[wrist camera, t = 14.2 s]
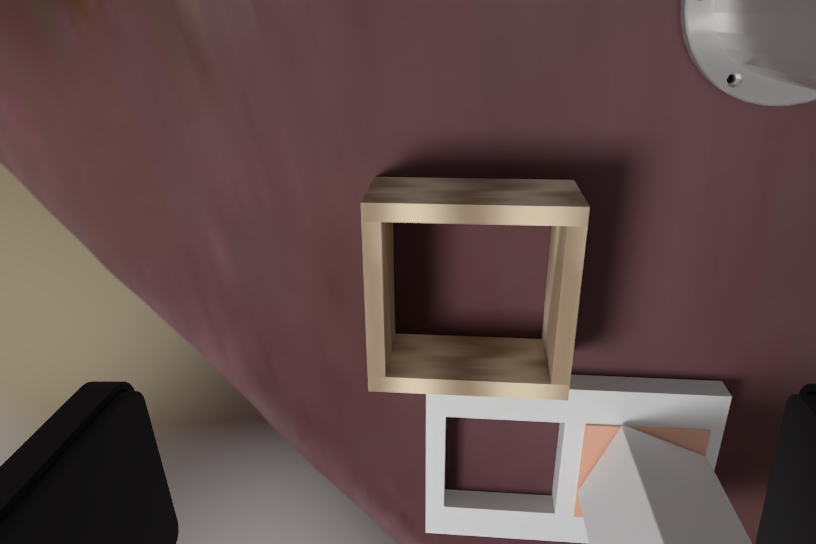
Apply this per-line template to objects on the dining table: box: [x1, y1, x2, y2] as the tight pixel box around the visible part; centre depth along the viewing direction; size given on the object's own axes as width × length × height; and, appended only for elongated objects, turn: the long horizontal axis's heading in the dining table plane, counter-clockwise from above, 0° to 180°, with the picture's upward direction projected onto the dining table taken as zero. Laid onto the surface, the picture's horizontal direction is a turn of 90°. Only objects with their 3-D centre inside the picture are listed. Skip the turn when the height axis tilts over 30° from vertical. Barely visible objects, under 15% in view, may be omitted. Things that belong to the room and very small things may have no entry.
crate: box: [361, 177, 590, 400], centre depth 42 cm, size 13×13×6 cm
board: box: [426, 375, 732, 543], centre depth 49 cm, size 22×15×2 cm
